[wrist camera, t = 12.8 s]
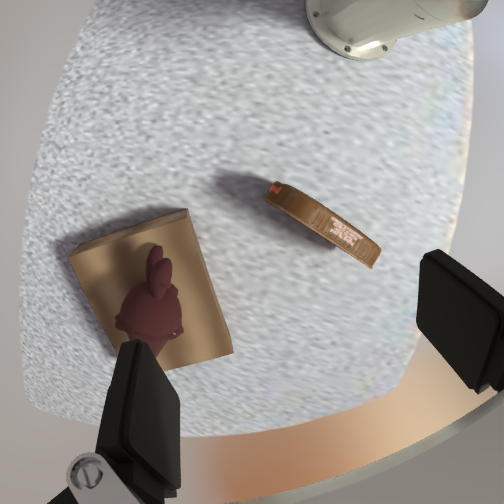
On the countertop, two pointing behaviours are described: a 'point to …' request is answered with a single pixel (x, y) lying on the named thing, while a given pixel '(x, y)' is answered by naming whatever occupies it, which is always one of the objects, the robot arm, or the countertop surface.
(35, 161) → the countertop surface
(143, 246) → the base
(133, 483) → the robot arm
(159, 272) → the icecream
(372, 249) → the tin
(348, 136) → the countertop surface
